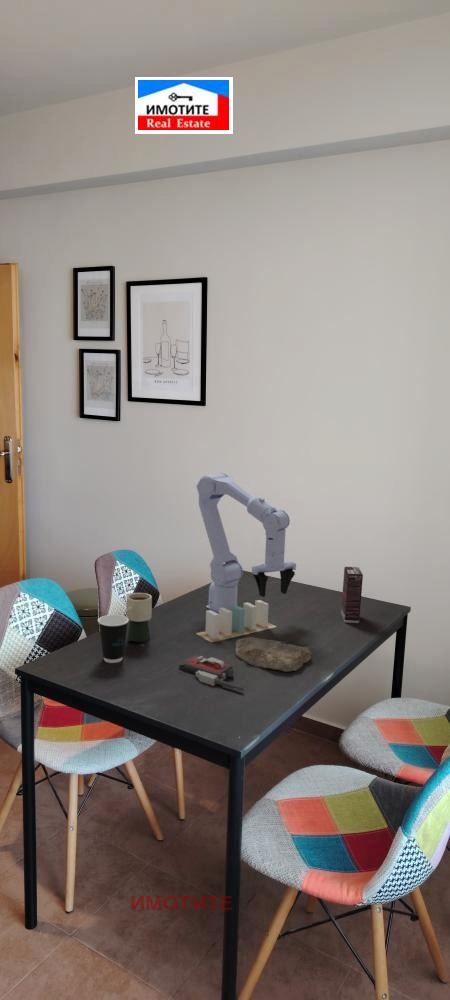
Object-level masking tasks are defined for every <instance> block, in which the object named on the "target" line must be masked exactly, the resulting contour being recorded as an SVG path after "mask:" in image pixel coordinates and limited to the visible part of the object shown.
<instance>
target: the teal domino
mask: <svg viewBox="0 0 450 1000" xmlns="http://www.w3.org/2000/svg"><path fill="white" fill-rule="evenodd" d="M231 611H232V629H233V630H235V631H237V632H238V633H241V632H244V612H245V609H243V607H241V606H238V604H237V605H233V606H231Z"/></svg>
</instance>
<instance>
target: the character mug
mask: <svg viewBox="0 0 450 1000" xmlns="http://www.w3.org/2000/svg"><path fill="white" fill-rule="evenodd" d="M125 604H126V614H125V616H126V617H127V618H128V619H129V621H130V622H129V624H128V629H127V631H128V632H127V640H128V641H129V642H134V643H144V642H148V641H149V640H150V639H151V638H150V637H151V636H150V635H151V634H150V626H149V620H151V619H152V613H153V612H152V610H153V609H152V607H153V598H152V595H151V594H149V593H146V592H132V593H129V594H127V595H126V602H125Z"/></svg>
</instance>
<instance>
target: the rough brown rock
mask: <svg viewBox="0 0 450 1000" xmlns="http://www.w3.org/2000/svg"><path fill="white" fill-rule="evenodd" d="M235 655H236V656H237V658H239V659H241V660H242V661H244V662H245V663H246V664H248V665H252V666H255V667H256V668H257V667H259V668H264V669H270V670H278V671H280V672H286V673H287V672H292V671H293V672H295V671H298V670H299V669H301V668H302V667H303V665H304V664H306V663H308V662H309V661H310V660H311V659H312V658H311V655H312V652H311V649H309V648H307V647H305V646H300V645H299V646H298V645H296V644H295V645H294V644H289V643H287V642H285V641H279V640H273V639H263V638H258V637H255V636H253V637H252V636H251V637H250V636H249V637H243V638H239V639H237V640H236V642H235Z"/></svg>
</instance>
